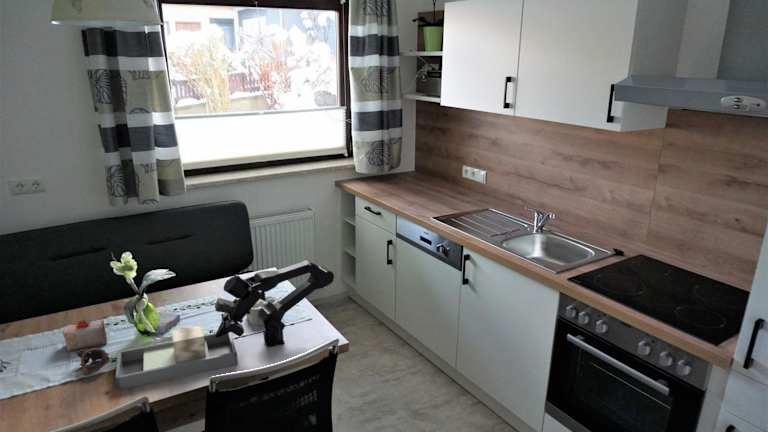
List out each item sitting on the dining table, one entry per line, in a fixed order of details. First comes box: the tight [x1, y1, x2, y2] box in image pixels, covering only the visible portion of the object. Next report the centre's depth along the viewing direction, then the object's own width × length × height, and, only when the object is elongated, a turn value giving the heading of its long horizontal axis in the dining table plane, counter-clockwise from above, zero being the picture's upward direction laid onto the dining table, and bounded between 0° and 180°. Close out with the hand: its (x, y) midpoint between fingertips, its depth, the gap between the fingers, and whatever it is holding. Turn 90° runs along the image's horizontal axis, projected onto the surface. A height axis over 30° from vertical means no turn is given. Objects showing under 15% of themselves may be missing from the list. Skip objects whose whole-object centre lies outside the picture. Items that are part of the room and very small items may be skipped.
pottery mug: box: [76, 347, 110, 376], centre depth 177 cm, size 12×10×8 cm
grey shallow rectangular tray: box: [115, 332, 239, 391], centre depth 180 cm, size 38×17×4 cm, turn 114°
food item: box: [62, 318, 108, 352], centre depth 190 cm, size 14×8×10 cm, turn 115°
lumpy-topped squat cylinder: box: [245, 295, 280, 326], centre depth 211 cm, size 10×13×9 cm
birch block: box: [171, 324, 206, 363], centre depth 180 cm, size 10×8×8 cm
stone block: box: [157, 311, 181, 334], centre depth 205 cm, size 12×5×10 cm
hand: (216, 336), depth 183 cm, fingers closed
